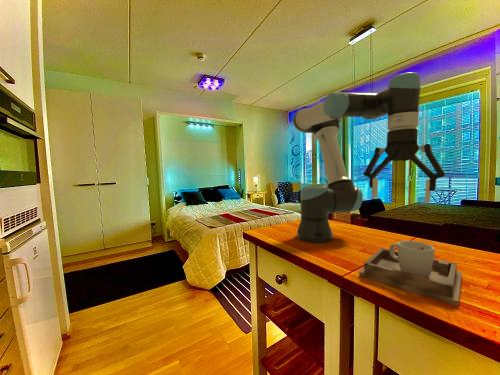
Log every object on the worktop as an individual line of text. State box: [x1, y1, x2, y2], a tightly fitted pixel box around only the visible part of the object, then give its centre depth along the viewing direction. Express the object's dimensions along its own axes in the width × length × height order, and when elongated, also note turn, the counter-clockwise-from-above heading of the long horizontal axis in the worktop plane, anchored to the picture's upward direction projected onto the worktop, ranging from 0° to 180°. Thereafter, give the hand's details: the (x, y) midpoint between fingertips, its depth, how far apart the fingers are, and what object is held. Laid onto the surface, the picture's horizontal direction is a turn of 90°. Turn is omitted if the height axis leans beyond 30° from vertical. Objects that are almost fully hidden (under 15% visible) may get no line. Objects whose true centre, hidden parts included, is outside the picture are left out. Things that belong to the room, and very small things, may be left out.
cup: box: [389, 240, 436, 278], centre depth 59 cm, size 11×8×8 cm
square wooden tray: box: [358, 247, 463, 308], centre depth 59 cm, size 20×18×4 cm
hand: (399, 199), depth 66 cm, fingers open, 13 cm apart
